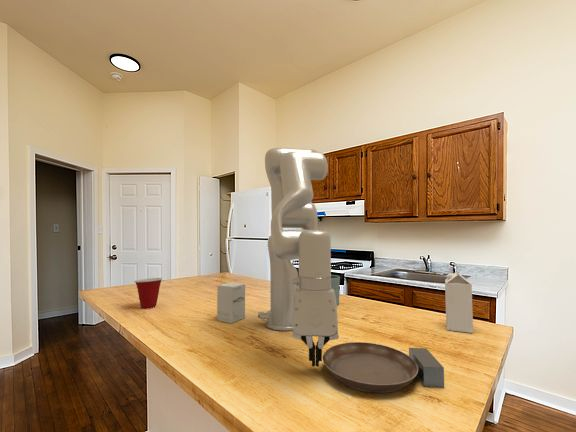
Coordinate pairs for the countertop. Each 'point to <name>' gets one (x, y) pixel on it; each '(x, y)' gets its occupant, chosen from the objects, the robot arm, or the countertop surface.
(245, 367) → the countertop surface
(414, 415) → the countertop surface
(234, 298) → the supplement box
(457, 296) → the milk carton
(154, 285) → the plastic cup
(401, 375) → the plant saucer
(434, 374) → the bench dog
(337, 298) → the grey green tapered pot
